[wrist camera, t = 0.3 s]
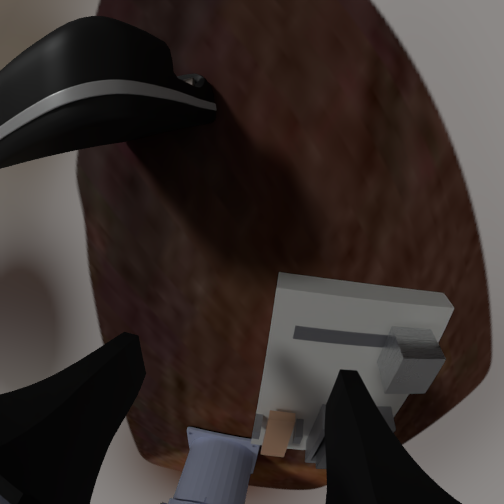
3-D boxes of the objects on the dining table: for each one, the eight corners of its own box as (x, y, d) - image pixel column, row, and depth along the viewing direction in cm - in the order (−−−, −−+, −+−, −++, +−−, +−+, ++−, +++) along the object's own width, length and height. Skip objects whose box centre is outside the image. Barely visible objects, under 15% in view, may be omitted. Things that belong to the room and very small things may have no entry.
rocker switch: (284, 448, 22) (283, 457, 21) (261, 445, 22) (260, 454, 21) (295, 413, 20) (295, 422, 19) (269, 410, 21) (268, 419, 20)
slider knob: (414, 362, 17) (425, 393, 15) (376, 361, 18) (384, 393, 15) (430, 329, 16) (445, 359, 14) (391, 326, 17) (403, 358, 14)
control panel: (366, 436, 25) (370, 471, 21) (253, 428, 26) (246, 464, 22) (443, 293, 18) (469, 330, 14) (278, 271, 19) (272, 312, 15)
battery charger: (214, 61, 14) (94, -17, 4) (222, 121, 16) (98, 115, 5) (113, 89, 16) (-37, 86, 5) (120, 143, 17) (-30, 180, 7)
